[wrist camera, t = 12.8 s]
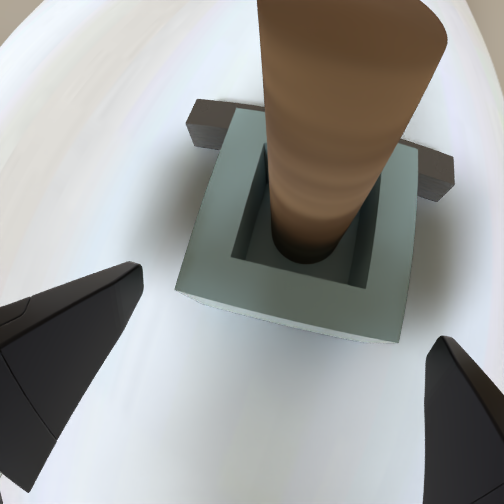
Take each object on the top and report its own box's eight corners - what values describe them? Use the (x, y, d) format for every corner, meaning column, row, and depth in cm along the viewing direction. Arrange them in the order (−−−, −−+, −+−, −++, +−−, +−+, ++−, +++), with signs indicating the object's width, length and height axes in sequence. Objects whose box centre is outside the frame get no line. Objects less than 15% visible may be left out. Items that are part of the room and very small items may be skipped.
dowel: (342, 262, 16) (477, 79, 4) (272, 265, 16) (261, 58, 4) (335, 198, 17) (408, -20, 5) (270, 200, 17) (254, -32, 5)
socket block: (364, 342, 16) (398, 343, 11) (201, 303, 17) (174, 289, 12) (387, 192, 18) (418, 149, 13) (245, 160, 19) (236, 107, 14)
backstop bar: (437, 201, 18) (454, 185, 15) (194, 146, 20) (185, 123, 17) (437, 175, 18) (453, 156, 16) (204, 122, 20) (197, 98, 18)
